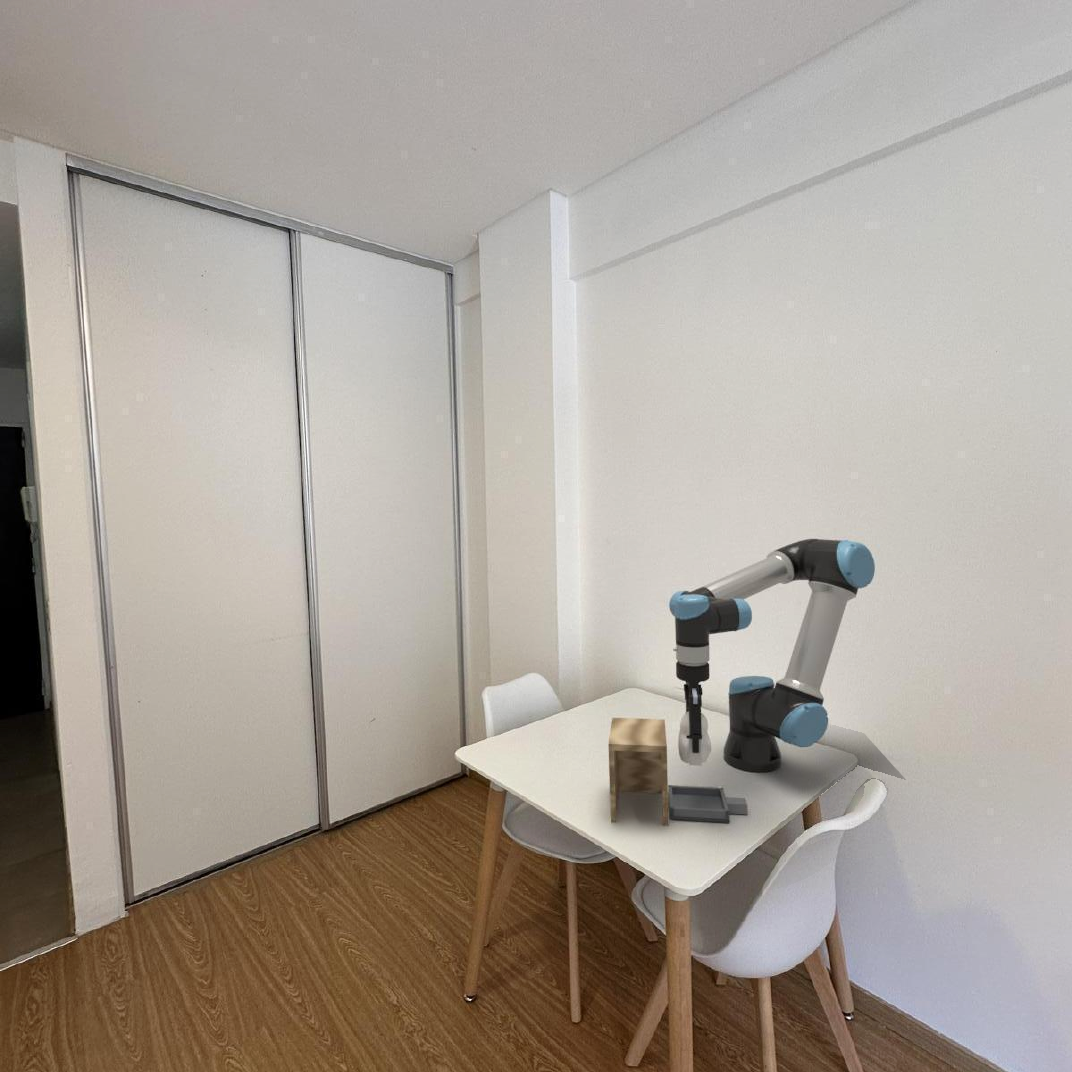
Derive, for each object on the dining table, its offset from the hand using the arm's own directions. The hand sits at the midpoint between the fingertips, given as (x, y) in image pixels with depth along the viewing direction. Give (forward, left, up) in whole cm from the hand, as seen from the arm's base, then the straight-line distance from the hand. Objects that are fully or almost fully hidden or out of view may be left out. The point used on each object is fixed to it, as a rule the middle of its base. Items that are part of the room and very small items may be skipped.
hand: (693, 756), depth 140 cm
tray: (-3, 0, -13) cm, 13 cm away
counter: (+13, 0, -13) cm, 18 cm away
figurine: (0, 0, -1) cm, 1 cm away
